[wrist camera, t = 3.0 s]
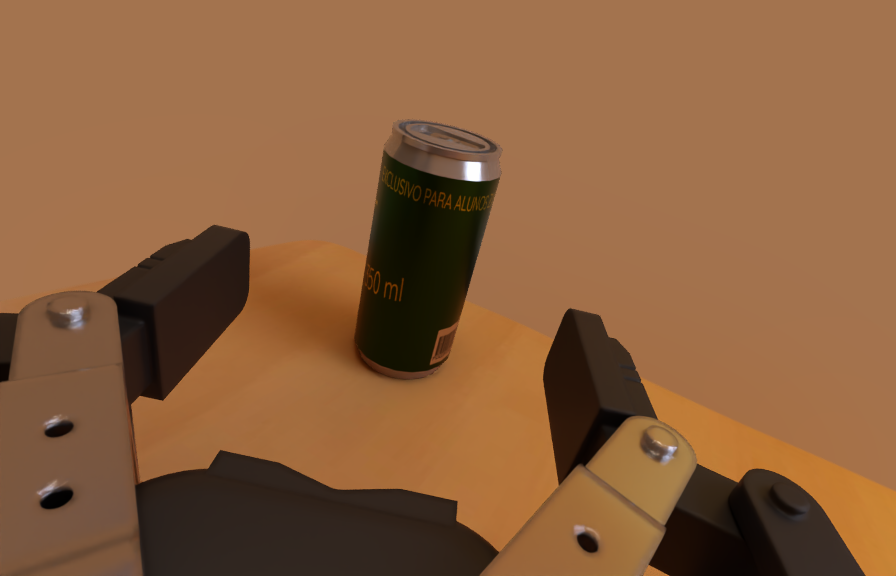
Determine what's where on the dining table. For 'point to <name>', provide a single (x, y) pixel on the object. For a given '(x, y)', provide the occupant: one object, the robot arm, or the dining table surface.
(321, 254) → the dining table surface
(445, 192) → the green drink can
